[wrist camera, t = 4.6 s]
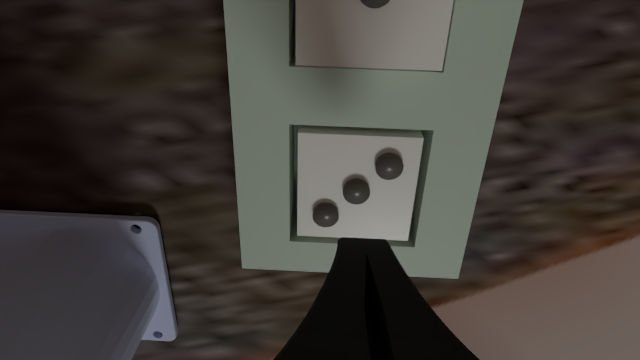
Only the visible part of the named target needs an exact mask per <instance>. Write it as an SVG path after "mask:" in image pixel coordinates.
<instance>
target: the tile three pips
mask: <svg viewBox="0 0 640 360" xmlns="http://www.w3.org/2000/svg"><path fill="white" fill-rule="evenodd" d="M423 141H424V137H423V135H422V133H421V131H420V130H409V129H386V128H362V127H338V126H314V125H299V130H298V182H297V236H315V237H337V238H342V237H348V238H369V239H386V240H400V241H408V237H409V231H410V224H411V218H412V211H413V205H414V199H415V192H416V186H417V179H418V173H419V166H420V160H421V153H422V147H423Z"/></svg>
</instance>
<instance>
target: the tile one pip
mask: <svg viewBox="0 0 640 360" xmlns="http://www.w3.org/2000/svg"><path fill="white" fill-rule="evenodd" d="M453 1H454V0H296V65H305V66H330V67H355V68H381V69H406V70H431V71H442V68H443V62H444V56H445V50H446V44H447V38H448V32H449V26H450V20H451V14H452V7H453Z"/></svg>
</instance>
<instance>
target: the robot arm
mask: <svg viewBox="0 0 640 360" xmlns="http://www.w3.org/2000/svg"><path fill="white" fill-rule="evenodd" d="M134 224H135V225H138V226H140V227H141V229H138V228H136V227H135V226H134ZM177 334H178V327H177V322H176V316H175V310H174V305H173V299H172V293H171V288H170V282H169V276H168V271H167V265H166V259H165V254H164V248H163V242H162V237H161V231H160V226H159V223H158V222H157V221H156V220H155V219H153V218H152V217H144V216H122V215H101V214H79V213H58V212H37V211H15V210H0V360H131V359H132V357H133V355H134V353H135V351H136V349H137V347H138V345H139V343H140V341H141V340H158V341H172V340H174V339H175V338H176V336H177ZM274 360H479V359H478V358H477V357H476V356H475V355H474V354H473V353H472V352H471V351H470V350H469V349H468V348H467V347H466V346H465V345H464V344H463V343H462V342H461V341H460V340H459V339H458V338H457V337H456V336H455V335H454V334H453V333H452V332H451V331H450V330H449V328H448V327H447V326H446V325H445V324H444V323H443V322H442V321H441V319H440V318H439V317H438V316H437V315H436V313H435V312H434V311H433V309H432V308H431V307H430V306H429V304H428V303H427V302H426V301H425V299H424V298H423V297H422V295H421V294H420V292H419V291H418V290H417V288H416V287H415V285H414V284H413V282H412V281H411V280H410V278H409V277H408V275H407V274H406V272H405V270H404V269H403V267H402V266H401V264H400V262H399V261H398V259H397V257H396V256H395V254H394V252H393V250H392V248H391V246H390V244H389V243H388V242H387V240H386V239H369V238H348V237H342V238H340V239H339V240H338V244H337V250H336V254H335V258H334V260H333V263H332V266H331V269H330V271H329V273H328V275H327V278H326V280H325V282H324V285H323V287H322V289H321V290H320V292H319V294H318V296H317V298H316V300H315V301H314V303H313V305H312V307H311V309H310V310H309V312H308V313H307V315H306V317H305V318H304V320H303V321H302V323H301V324H300V326H299V327H298V329H297V330H296V332H295V333H294V334H293V336H292V337H291V338H290V340H289V341H288V342H287V344H286V345H285V346H284V347H283V349H282V350H281V351H280V352H279V354H278V355H277V356H276V357H275V358H274Z"/></svg>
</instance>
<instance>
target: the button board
mask: <svg viewBox="0 0 640 360" xmlns="http://www.w3.org/2000/svg"><path fill="white" fill-rule="evenodd" d="M223 4H224V18H225V32H226V46H227V60H228V74H229V88H230V102H231V117H232V131H233V145H234V159H235V173H236V187H237V201H238V215H239V230H240V244H241V258H242V268H249V269H269V270H290V271H310V272H329V271H330V269H331V266H332V263H333V260H334V258H335V254H336V250H337V244H338V240H339V239H340V238H337V237H315V236H297V182H298V130H299V125H314V126H338V127H362V128H386V129H409V130H420V131H421V133H422V135H423V137H424V141H423V147H422V153H421V160H420V166H419V173H418V179H417V186H416V192H415V199H414V205H413V211H412V218H411V224H410V231H409V237H408V241H400V240H387V242H388V243H389V244H390V246H391V248H392V250H393V252H394V254H395V256H396V257H397V259H398V261H399V262H400V264H401V266H402V267H403V269H404V270H405V272H406V274H407V275H408V276H413V277H434V278H454V279H458V277H459V272H460V268H461V264H462V260H463V255H464V251H465V247H466V243H467V238H468V234H469V230H470V226H471V221H472V217H473V213H474V208H475V204H476V200H477V196H478V191H479V187H480V183H481V179H482V174H483V170H484V166H485V162H486V157H487V153H488V149H489V145H490V140H491V136H492V132H493V128H494V123H495V119H496V115H497V111H498V106H499V102H500V98H501V94H502V89H503V85H504V81H505V77H506V72H507V68H508V64H509V60H510V55H511V51H512V47H513V42H514V38H515V34H516V30H517V25H518V21H519V17H520V13H521V8H522V4H523V0H454V1H453V7H452V14H451V20H450V26H449V32H448V38H447V44H446V50H445V56H444V62H443V68H442V71H431V70H406V69H381V68H355V67H330V66H305V65H296V0H223Z"/></svg>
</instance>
